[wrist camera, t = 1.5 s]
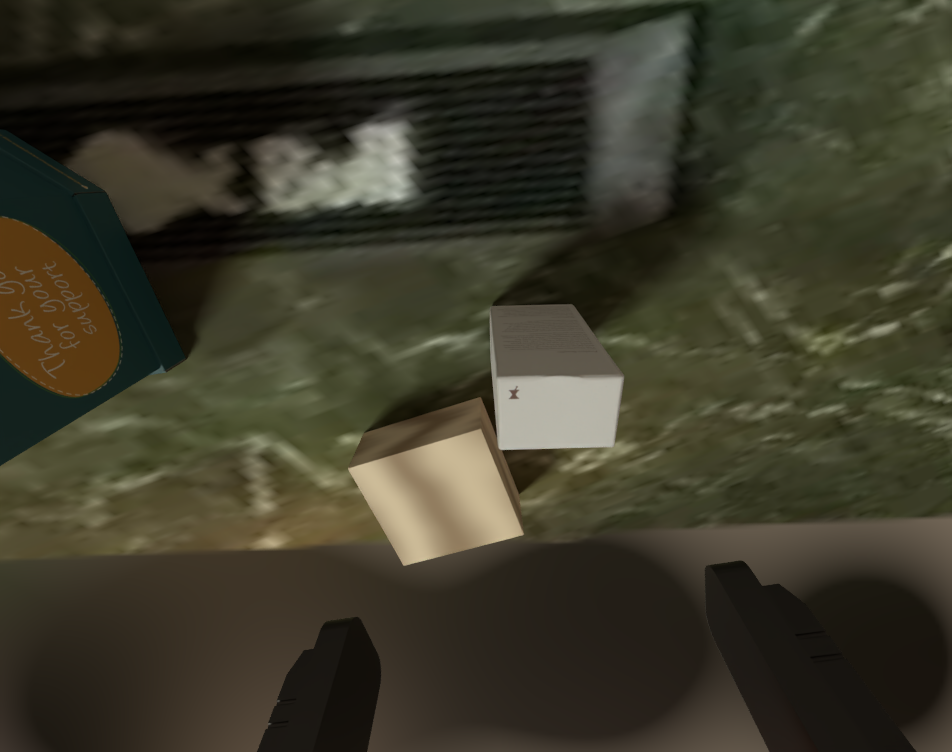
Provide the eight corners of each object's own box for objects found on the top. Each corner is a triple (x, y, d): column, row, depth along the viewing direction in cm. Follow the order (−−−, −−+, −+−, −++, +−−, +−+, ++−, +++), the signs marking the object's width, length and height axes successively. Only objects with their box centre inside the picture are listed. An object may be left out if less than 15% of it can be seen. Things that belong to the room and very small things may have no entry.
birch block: (480, 395, 35) (480, 428, 30) (518, 492, 39) (523, 534, 34) (364, 431, 36) (348, 468, 32) (412, 521, 40) (403, 565, 36)
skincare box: (490, 360, 33) (494, 452, 22) (489, 304, 31) (493, 374, 20) (572, 358, 33) (616, 450, 22) (575, 302, 31) (626, 372, 20)
